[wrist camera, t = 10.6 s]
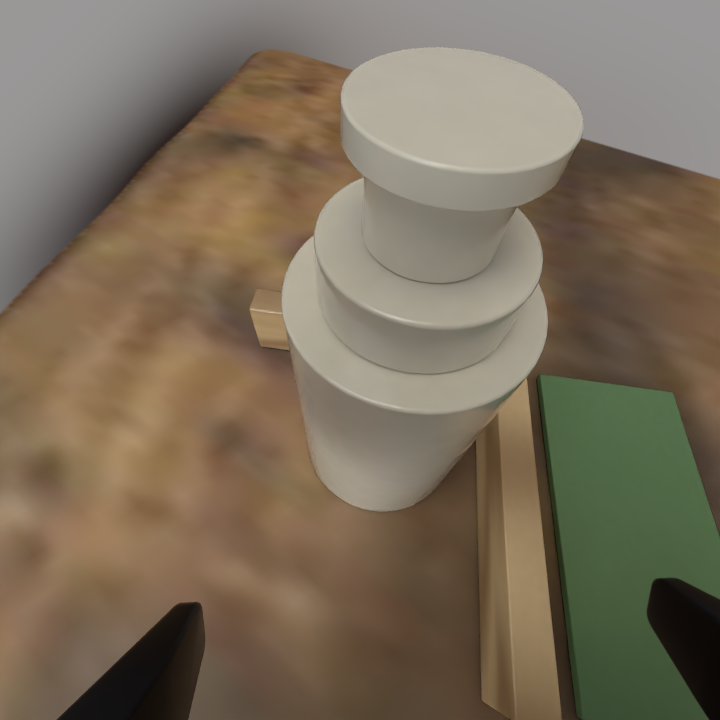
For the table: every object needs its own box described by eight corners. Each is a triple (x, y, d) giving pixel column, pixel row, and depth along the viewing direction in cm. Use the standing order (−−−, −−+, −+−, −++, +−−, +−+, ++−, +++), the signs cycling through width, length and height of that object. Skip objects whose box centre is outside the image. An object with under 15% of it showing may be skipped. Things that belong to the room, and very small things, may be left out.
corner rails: (520, 707, 12) (564, 731, 10) (161, 647, 13) (119, 657, 10) (498, 358, 19) (521, 322, 17) (266, 326, 19) (256, 287, 17)
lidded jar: (450, 523, 15) (769, 283, 4) (293, 499, 15) (170, 207, 4) (452, 384, 18) (629, 35, 7) (322, 366, 18) (296, -1, 7)
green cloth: (777, 750, 12) (790, 754, 12) (576, 716, 12) (582, 719, 12) (666, 396, 18) (673, 392, 18) (536, 378, 18) (539, 373, 18)
